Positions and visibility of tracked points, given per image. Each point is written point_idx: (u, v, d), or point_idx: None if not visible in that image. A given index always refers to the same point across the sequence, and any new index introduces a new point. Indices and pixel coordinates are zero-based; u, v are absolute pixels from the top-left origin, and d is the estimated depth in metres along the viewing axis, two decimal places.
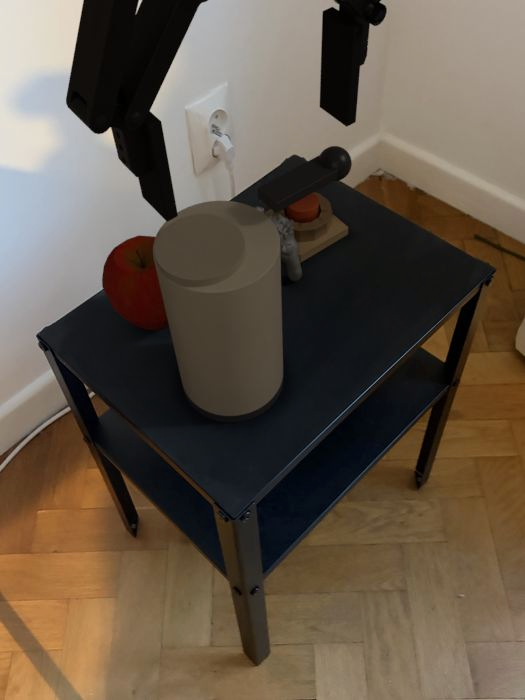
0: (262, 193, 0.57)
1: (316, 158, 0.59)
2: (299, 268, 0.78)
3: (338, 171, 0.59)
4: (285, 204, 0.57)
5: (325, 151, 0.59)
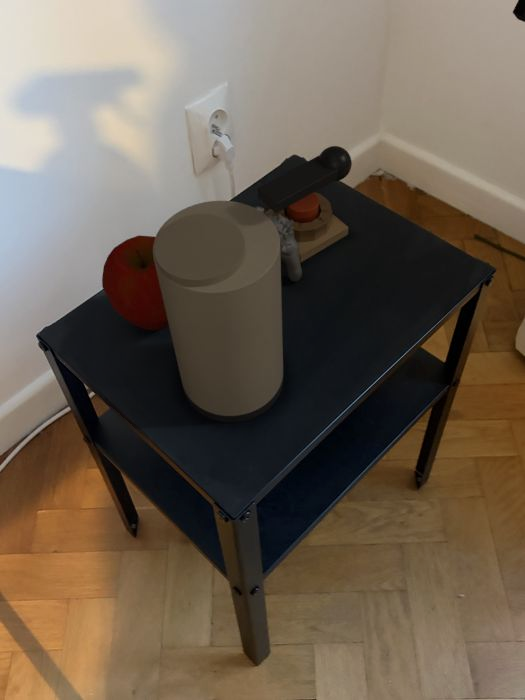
0: (262, 193, 0.57)
1: (316, 158, 0.59)
2: (299, 268, 0.78)
3: (338, 171, 0.59)
4: (285, 204, 0.57)
5: (325, 151, 0.59)
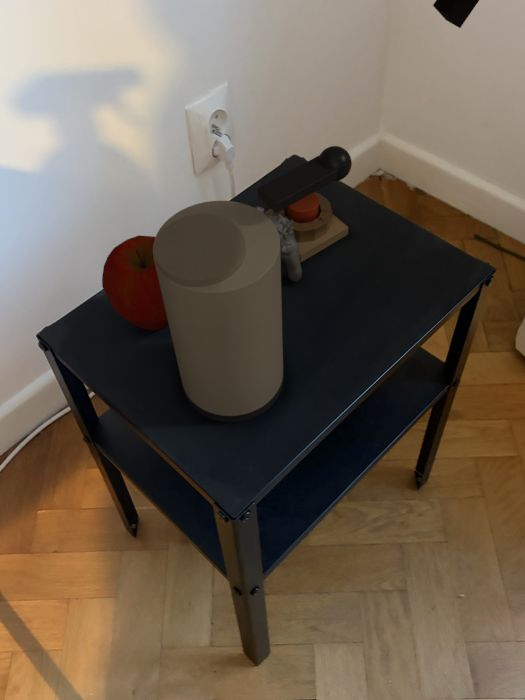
0: (262, 193, 0.57)
1: (316, 158, 0.59)
2: (299, 268, 0.78)
3: (338, 171, 0.59)
4: (285, 204, 0.57)
5: (325, 151, 0.59)
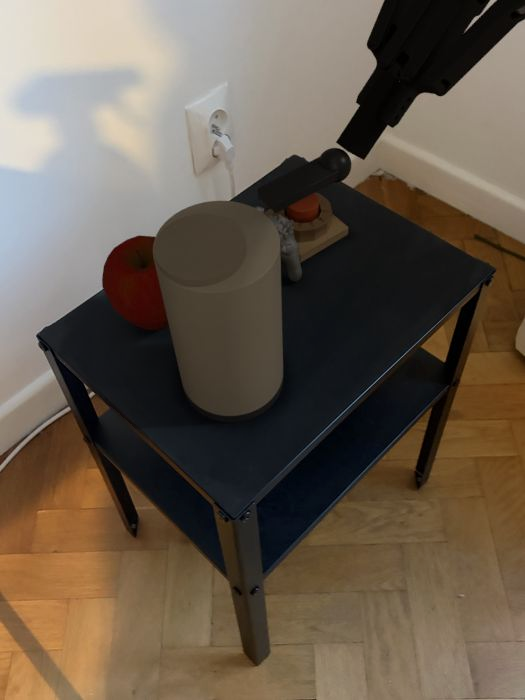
0: (262, 193, 0.57)
1: (316, 159, 0.59)
2: (299, 268, 0.78)
3: (338, 173, 0.59)
4: (285, 205, 0.57)
5: (325, 153, 0.59)
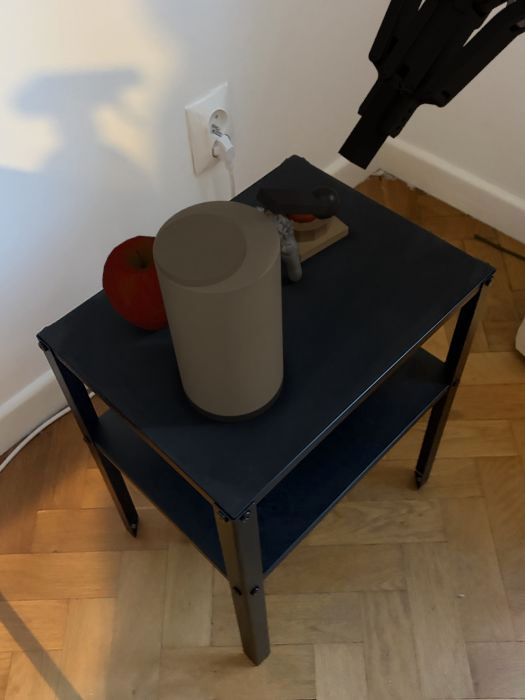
0: (264, 193, 0.57)
1: (310, 191, 0.62)
2: (299, 268, 0.78)
3: (329, 207, 0.61)
4: (283, 210, 0.57)
5: (320, 187, 0.62)
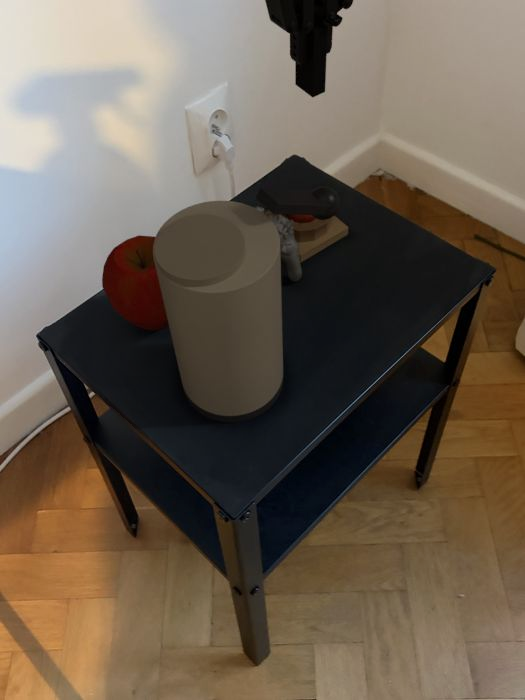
0: (264, 193, 0.57)
1: (309, 191, 0.62)
2: (299, 268, 0.78)
3: (329, 207, 0.61)
4: (283, 210, 0.57)
5: (320, 187, 0.62)
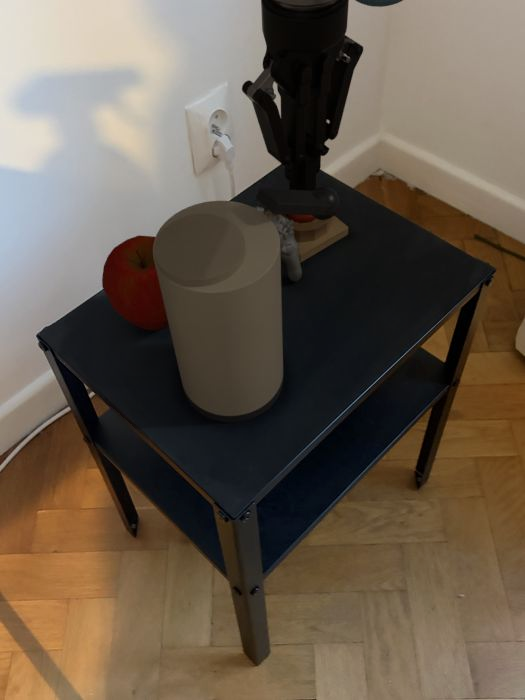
0: (264, 193, 0.57)
1: (309, 191, 0.62)
2: (299, 268, 0.78)
3: (329, 207, 0.61)
4: (283, 210, 0.57)
5: (320, 187, 0.62)
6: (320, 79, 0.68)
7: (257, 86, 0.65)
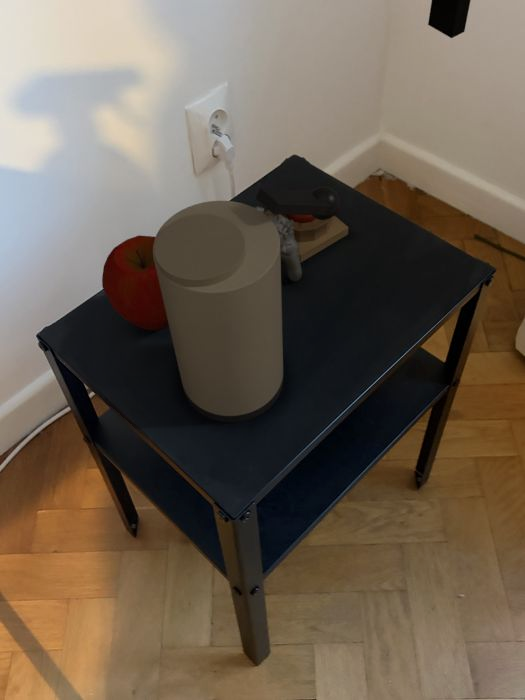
0: (264, 193, 0.57)
1: (309, 191, 0.62)
2: (299, 268, 0.78)
3: (329, 207, 0.61)
4: (283, 210, 0.57)
5: (320, 187, 0.62)
6: None
7: None
